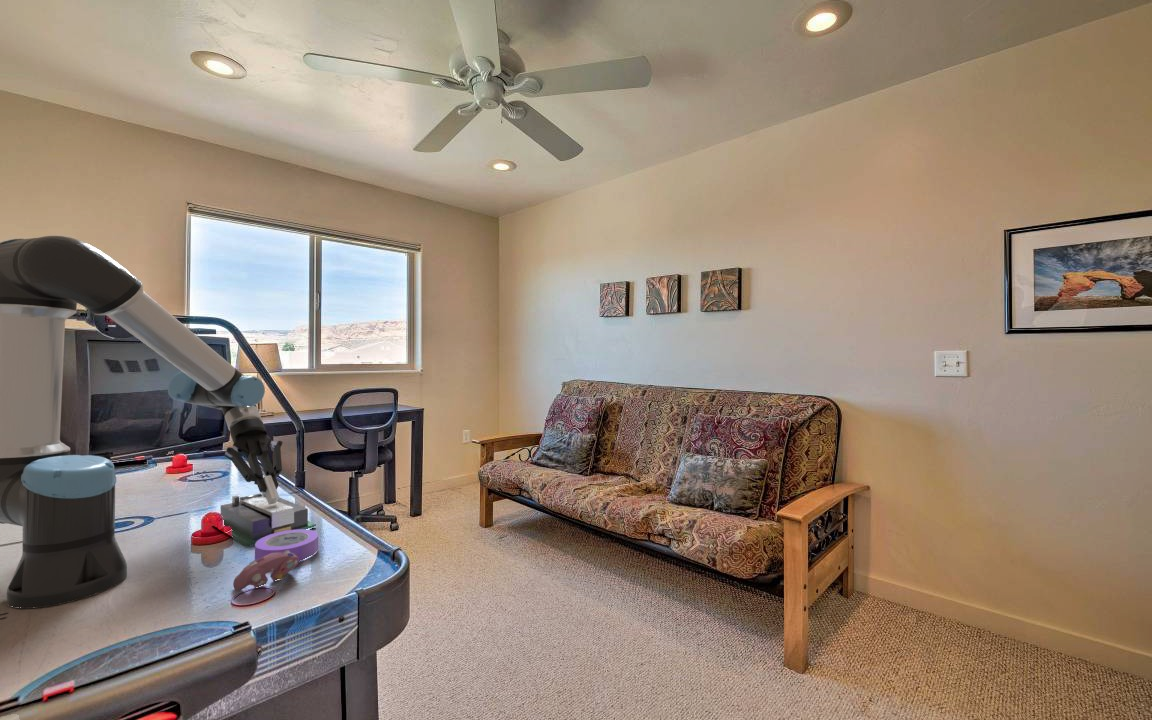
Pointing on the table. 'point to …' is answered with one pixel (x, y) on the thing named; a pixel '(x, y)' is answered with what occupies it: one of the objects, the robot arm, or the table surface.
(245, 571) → the video game controller
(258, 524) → the grey box device
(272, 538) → the masking tape
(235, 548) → the table surface
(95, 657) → the table surface
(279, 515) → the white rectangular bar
